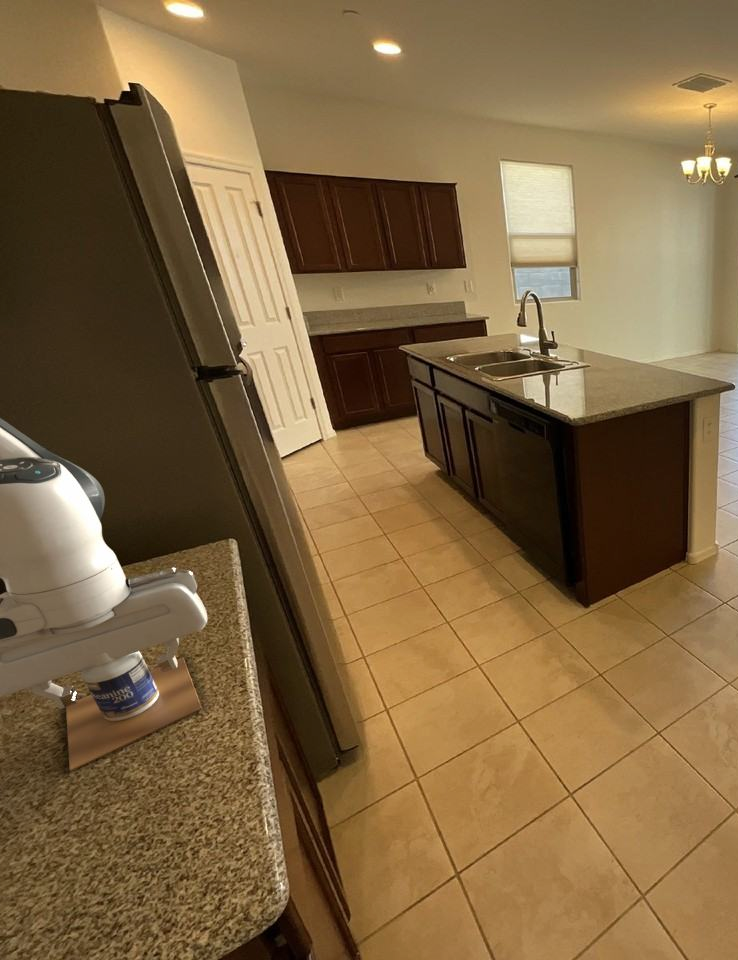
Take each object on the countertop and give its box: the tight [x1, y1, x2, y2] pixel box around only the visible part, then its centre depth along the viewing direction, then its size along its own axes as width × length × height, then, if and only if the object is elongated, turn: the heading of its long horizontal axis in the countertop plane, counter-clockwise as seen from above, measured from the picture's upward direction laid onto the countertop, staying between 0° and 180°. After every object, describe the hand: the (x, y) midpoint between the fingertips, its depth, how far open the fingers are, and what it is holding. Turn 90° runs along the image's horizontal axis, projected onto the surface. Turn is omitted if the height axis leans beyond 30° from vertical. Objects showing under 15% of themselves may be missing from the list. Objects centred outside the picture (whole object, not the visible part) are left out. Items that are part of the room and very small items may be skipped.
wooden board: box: [65, 657, 203, 772], centre depth 67 cm, size 14×12×1 cm
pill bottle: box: [81, 651, 159, 721], centre depth 65 cm, size 5×5×10 cm
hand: (122, 684), depth 66 cm, fingers open, 8 cm apart
